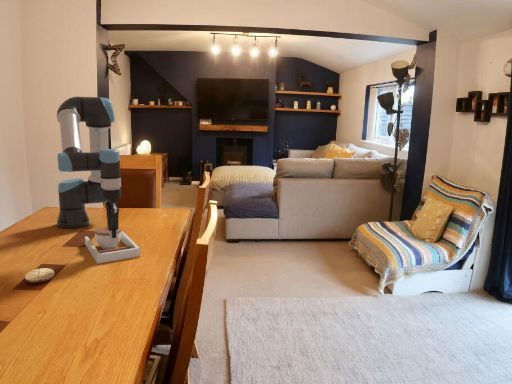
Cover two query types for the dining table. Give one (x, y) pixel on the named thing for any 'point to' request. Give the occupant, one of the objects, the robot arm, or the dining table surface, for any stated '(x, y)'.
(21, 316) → the dining table surface
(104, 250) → the tray
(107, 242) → the lidded jar
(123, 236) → the channel
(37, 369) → the dining table surface
